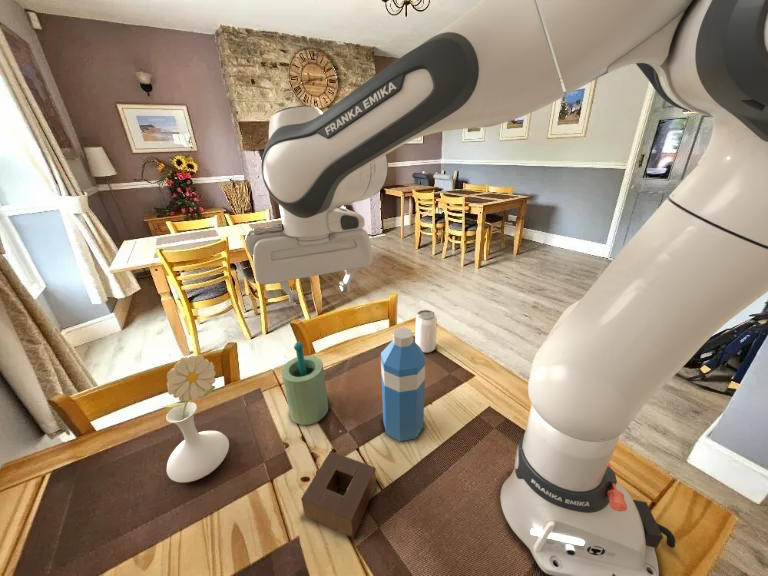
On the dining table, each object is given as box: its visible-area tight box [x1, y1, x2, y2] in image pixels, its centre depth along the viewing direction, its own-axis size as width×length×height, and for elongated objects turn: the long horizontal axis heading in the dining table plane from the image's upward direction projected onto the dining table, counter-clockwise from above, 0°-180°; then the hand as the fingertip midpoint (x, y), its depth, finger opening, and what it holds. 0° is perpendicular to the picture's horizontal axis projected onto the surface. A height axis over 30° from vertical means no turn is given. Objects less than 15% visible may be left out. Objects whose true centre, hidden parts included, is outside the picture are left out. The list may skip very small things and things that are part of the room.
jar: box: [281, 355, 329, 426], centre depth 74 cm, size 9×9×13 cm
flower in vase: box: [160, 354, 230, 483], centre depth 60 cm, size 13×11×25 cm
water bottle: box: [380, 327, 427, 442], centre depth 67 cm, size 9×9×25 cm
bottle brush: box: [293, 341, 307, 377], centre depth 72 cm, size 3×3×19 cm
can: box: [414, 309, 438, 354], centre depth 96 cm, size 6×6×12 cm
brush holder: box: [300, 450, 377, 539], centre depth 56 cm, size 10×10×5 cm
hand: (320, 296), depth 57 cm, fingers open, 8 cm apart
